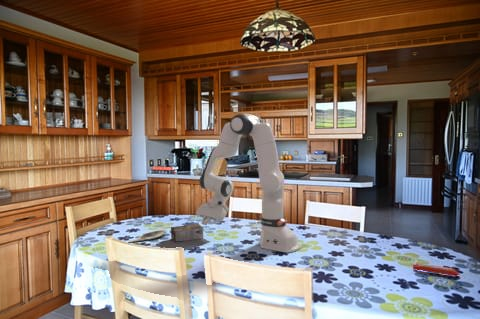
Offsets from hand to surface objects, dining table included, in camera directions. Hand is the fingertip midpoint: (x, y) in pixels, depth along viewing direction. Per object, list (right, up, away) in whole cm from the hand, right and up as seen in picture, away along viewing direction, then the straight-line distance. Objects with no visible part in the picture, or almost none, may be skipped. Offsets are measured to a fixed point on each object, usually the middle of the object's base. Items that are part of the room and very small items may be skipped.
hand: (203, 224), depth 179 cm
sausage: (+100, -10, -50) cm, 112 cm away
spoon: (-35, -9, -5) cm, 36 cm away
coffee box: (-1, -4, +1) cm, 4 cm away
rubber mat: (-10, -8, -10) cm, 16 cm away
